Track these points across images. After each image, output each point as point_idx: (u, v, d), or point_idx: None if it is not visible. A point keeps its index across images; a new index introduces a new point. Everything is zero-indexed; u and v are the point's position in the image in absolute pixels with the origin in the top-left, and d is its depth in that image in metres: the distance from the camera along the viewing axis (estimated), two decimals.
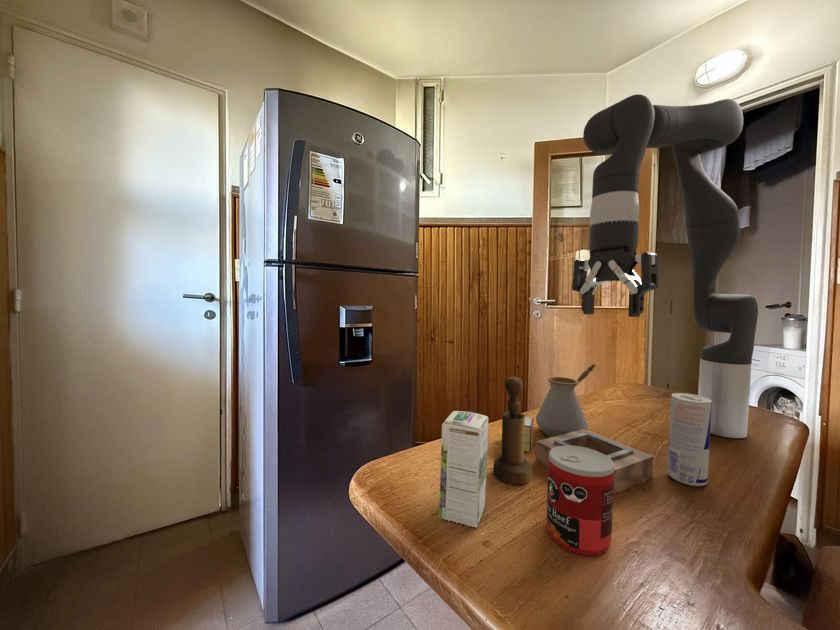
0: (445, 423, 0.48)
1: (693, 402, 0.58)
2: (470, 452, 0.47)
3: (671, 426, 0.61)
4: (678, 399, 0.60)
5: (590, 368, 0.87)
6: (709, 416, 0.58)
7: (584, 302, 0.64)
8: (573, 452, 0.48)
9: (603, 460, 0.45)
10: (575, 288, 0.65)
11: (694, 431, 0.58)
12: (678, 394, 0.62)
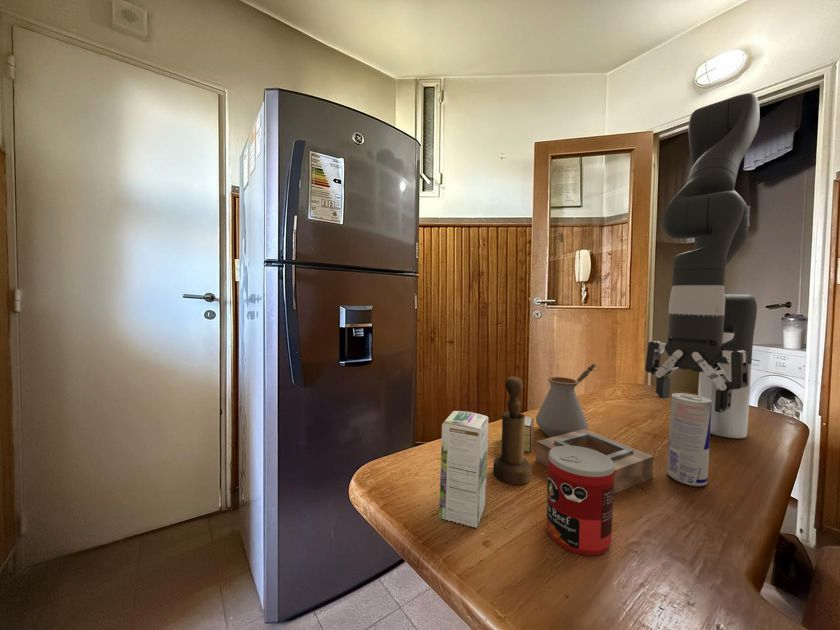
0: (445, 423, 0.48)
1: (693, 402, 0.58)
2: (470, 452, 0.47)
3: (671, 426, 0.61)
4: (678, 399, 0.60)
5: (590, 368, 0.87)
6: (709, 416, 0.58)
7: (660, 386, 0.63)
8: (573, 452, 0.48)
9: (603, 460, 0.45)
10: (649, 370, 0.65)
11: (694, 431, 0.58)
12: (678, 394, 0.62)
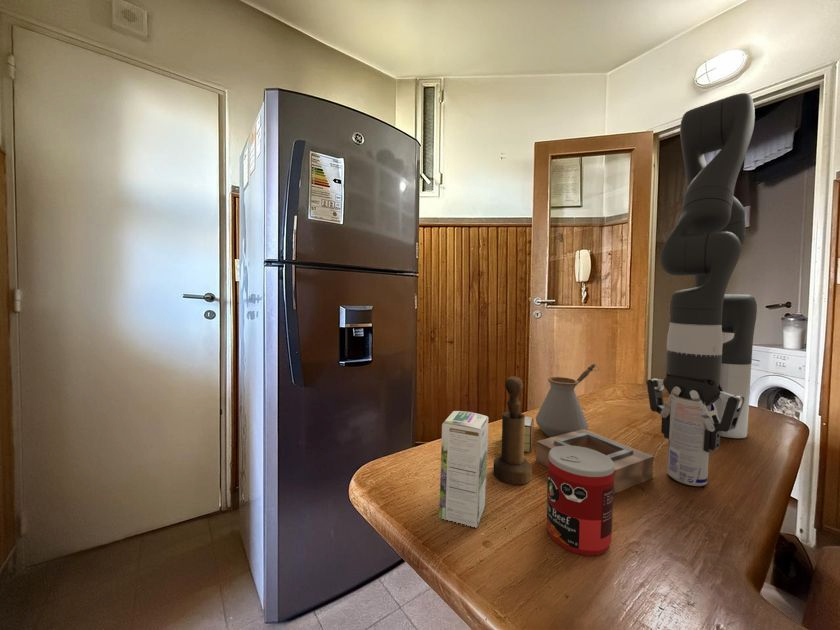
0: (445, 423, 0.48)
1: (693, 402, 0.58)
2: (470, 452, 0.47)
3: (671, 426, 0.61)
4: (678, 399, 0.60)
5: (590, 368, 0.87)
6: None
7: (665, 426, 0.63)
8: (573, 452, 0.48)
9: (603, 460, 0.45)
10: (654, 409, 0.64)
11: (694, 431, 0.58)
12: None
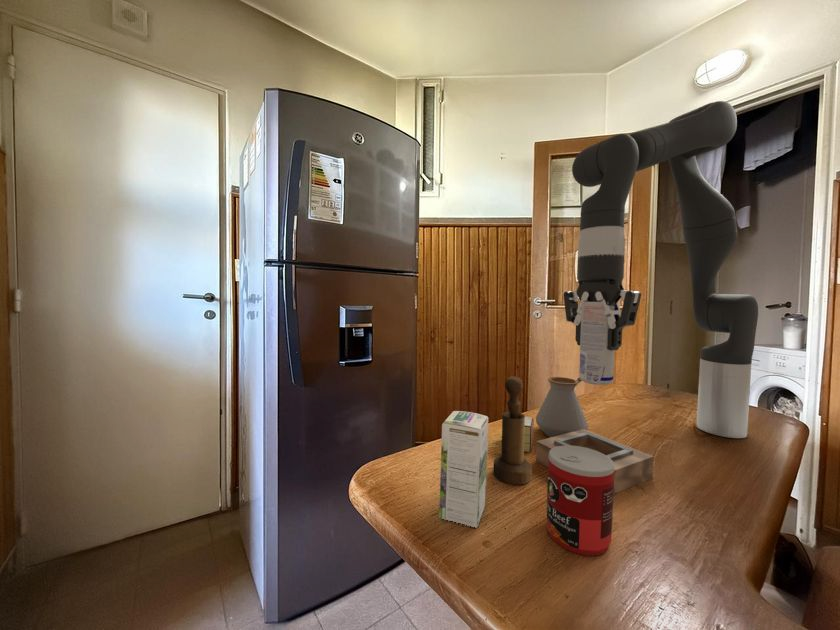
0: (445, 423, 0.48)
1: (597, 303, 0.60)
2: (470, 452, 0.47)
3: (581, 331, 0.63)
4: (586, 303, 0.62)
5: None
6: None
7: (578, 333, 0.65)
8: (573, 452, 0.48)
9: (603, 460, 0.45)
10: (569, 319, 0.67)
11: (598, 331, 0.60)
12: None
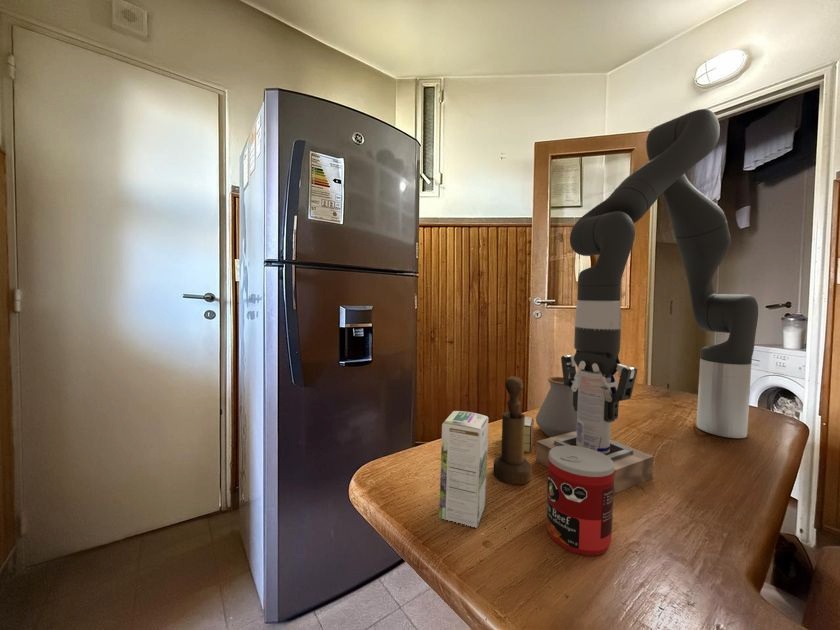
0: (445, 423, 0.48)
1: (594, 374, 0.61)
2: (470, 452, 0.47)
3: (578, 399, 0.64)
4: (583, 373, 0.63)
5: None
6: None
7: (575, 400, 0.66)
8: (573, 452, 0.48)
9: (603, 460, 0.45)
10: (567, 384, 0.67)
11: (595, 402, 0.61)
12: None
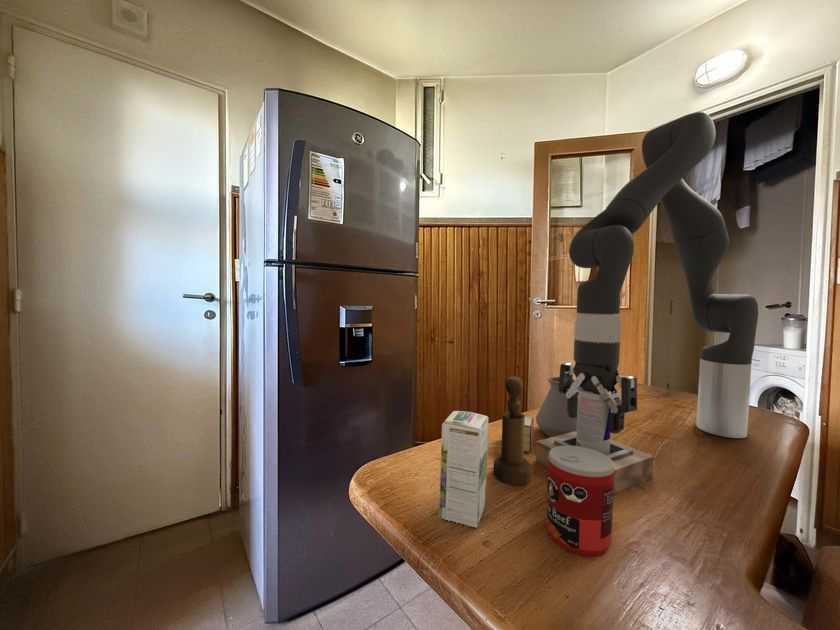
0: (445, 423, 0.48)
1: (593, 395, 0.61)
2: (470, 452, 0.47)
3: (577, 418, 0.64)
4: (582, 393, 0.63)
5: None
6: (608, 409, 0.61)
7: (569, 406, 0.67)
8: (573, 452, 0.48)
9: (603, 460, 0.45)
10: (561, 390, 0.68)
11: (594, 423, 0.61)
12: None
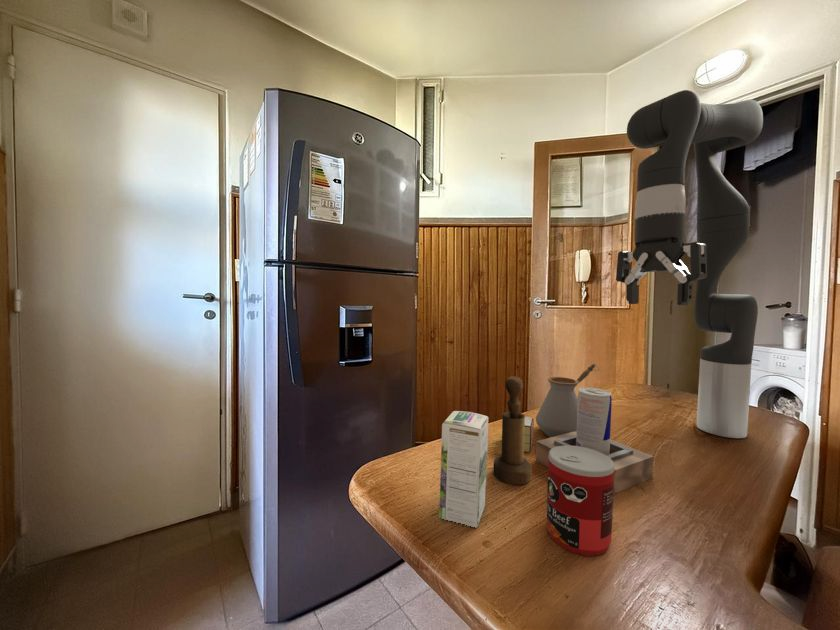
0: (445, 423, 0.48)
1: (593, 395, 0.61)
2: (470, 452, 0.47)
3: (577, 418, 0.64)
4: (582, 393, 0.63)
5: (590, 368, 0.87)
6: (608, 409, 0.61)
7: (629, 292, 0.66)
8: (573, 452, 0.48)
9: (603, 460, 0.45)
10: (619, 279, 0.68)
11: (594, 423, 0.61)
12: (585, 388, 0.65)
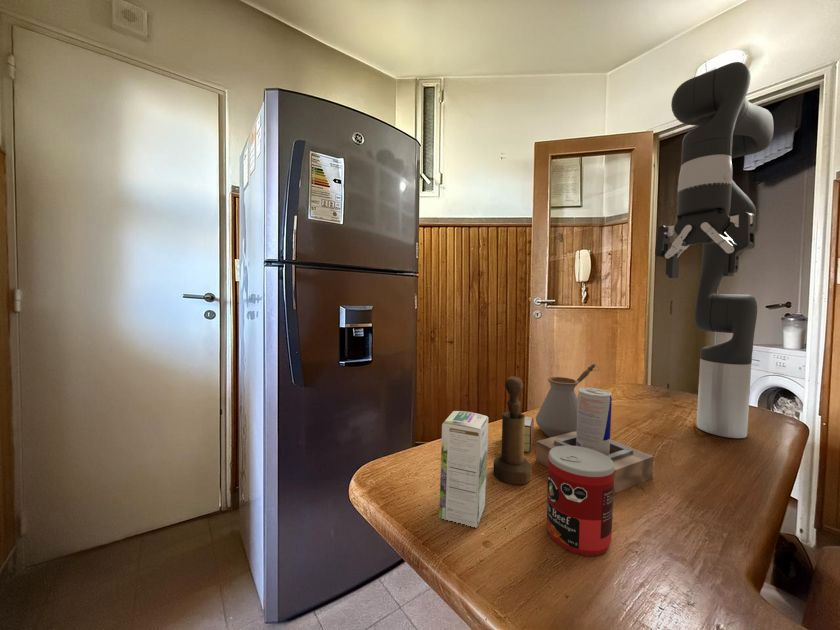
0: (445, 423, 0.48)
1: (593, 395, 0.61)
2: (470, 452, 0.47)
3: (577, 418, 0.64)
4: (582, 393, 0.63)
5: (590, 368, 0.87)
6: (608, 409, 0.61)
7: (670, 266, 0.66)
8: (573, 452, 0.48)
9: (603, 460, 0.45)
10: (659, 253, 0.68)
11: (594, 423, 0.61)
12: (585, 388, 0.65)
